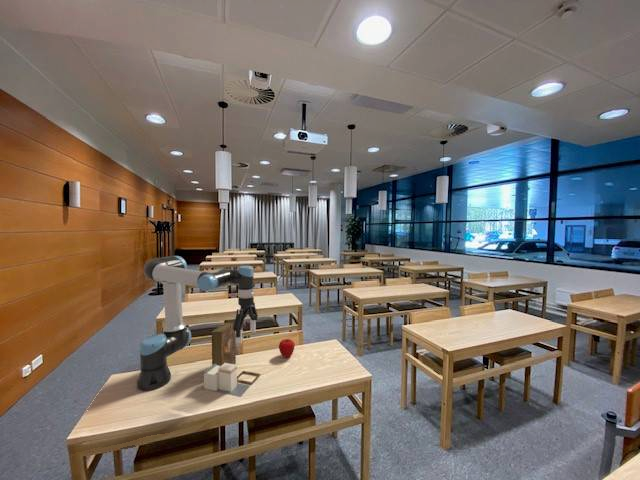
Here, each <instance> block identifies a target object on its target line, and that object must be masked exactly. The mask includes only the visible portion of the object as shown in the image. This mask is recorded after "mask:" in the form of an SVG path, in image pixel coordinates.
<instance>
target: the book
mask: <svg viewBox="0 0 640 480" xmlns="http://www.w3.org/2000/svg"><path fill="white" fill-rule="evenodd" d="M234 323H235V321H231V320H229V321H226V322H225V323H223V324H221V325H220V326H218V327H217V328H215V329H214V330H212V331H211V366H212V365H213V364H217V365H218V366H221V365H223V364H224V363H229V364H235V365H237V364H236V363H237V357H236V354H237V353H236V350H237V349H236V344H237V343H236V331H233V327H234Z"/></svg>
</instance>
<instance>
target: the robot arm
mask: <svg viewBox="0 0 640 480" xmlns="http://www.w3.org/2000/svg"><path fill="white" fill-rule="evenodd" d="M142 272H143V275H144V277H145V278H146V279H148V281H153V282H157V283H161V284H162V285H163V286H162V289H163V303H164V304H163V305H164V318H165V319H164V320H165V327H163V329H162V333H157V334H153V335H150V336H148V337H146V338H144V339H143V340H142V341H141V343H140V344H139V345H140V346H139V357H140V358H139V359H140V364H139V365H140V372H139V375H138V379H137V381H136V388H137V389H138V390H139V391H143V392H144V391H146V392H147V391H152V390H157V389H159V388H162V387H164V386H165V385H167V384H168V383H169V382H170V381H171V379H172V373H171V371H170V367H169V366H168V361H167V360H168V359H167V358H168V357H169V356H171V355H173V354H175V353H177V352H179V351H181V350H183V349H185V347H187V346H188V345H189V344H190V343H191V339H192V333H191V330H190V328H189V327H187V324H186V323H184V320H183V305H182V304H183V303H182V289H181V287H182V285H186V286H190V287H191V286H192V287H197V288H199V289H200V290H201V292H202V291H203V292H209V291H210V292H211V291H213V290H215V289H218V288H219V289H220V288H221V287H224V286H228V285H237V288H238V289H237V291H238V292H237V297H238V299H237V303H238V305H239V306H240V307H239V308H240V309H236V315H235V320H234V322H235V323H234V327H233V331H235V343H236V344H240V345H241V344H243V329H242V328H243V324H244V322H245V318H247V316H249V318H250V320H249V326H250V329H249V330H250V333H253V334H255V333H256V329H257V328H256V321H257V320H258V319H259V318H258V317H259V315H258V313H257V307H256V302H254V301H255V297H254V292H255V291H254V268H253V266H251V265H240V266H238V267H237V269H235V268H234V269H232V268H231V269H230V268H220V269H219V270H218V271H215V272H207V271H202V270H201V271H200V270H195V269H189V268H188V265H187V262H186V260H185V259H184V257H183V256H179V255H169V256H164V257H163V256H162V257H156V258H155V257H154V258H152V259H149V260H148V261H147V262H146V263H145V264H144V266H143V270H142Z"/></svg>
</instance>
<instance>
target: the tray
mask: <svg viewBox="0 0 640 480" xmlns="http://www.w3.org/2000/svg"><path fill="white" fill-rule="evenodd" d="M243 374H247V375H252V376H256V377H255V378H254V379H253V380H252V381H248V380H245V379H244V380H243V379H239V378H240V377H241V376H242V375H243ZM260 377H261V373H258V372H252V371H248V370H242V371H241V372H240V373H239V374H237V383H240V384H245V385H247V384H248V385H253V384H254V383H255V382H256V381H257V380H258V379H259V378H260Z"/></svg>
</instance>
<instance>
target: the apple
mask: <svg viewBox="0 0 640 480" xmlns="http://www.w3.org/2000/svg"><path fill="white" fill-rule="evenodd" d="M295 346H296V345H295V342H294V340H292V339H290V338H286V339H281V341H280V342H279V345H278V349H279V352H280V355H281V356H283V357H284V358H289V357H291V356H292V355H293V353H294V350H295Z"/></svg>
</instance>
